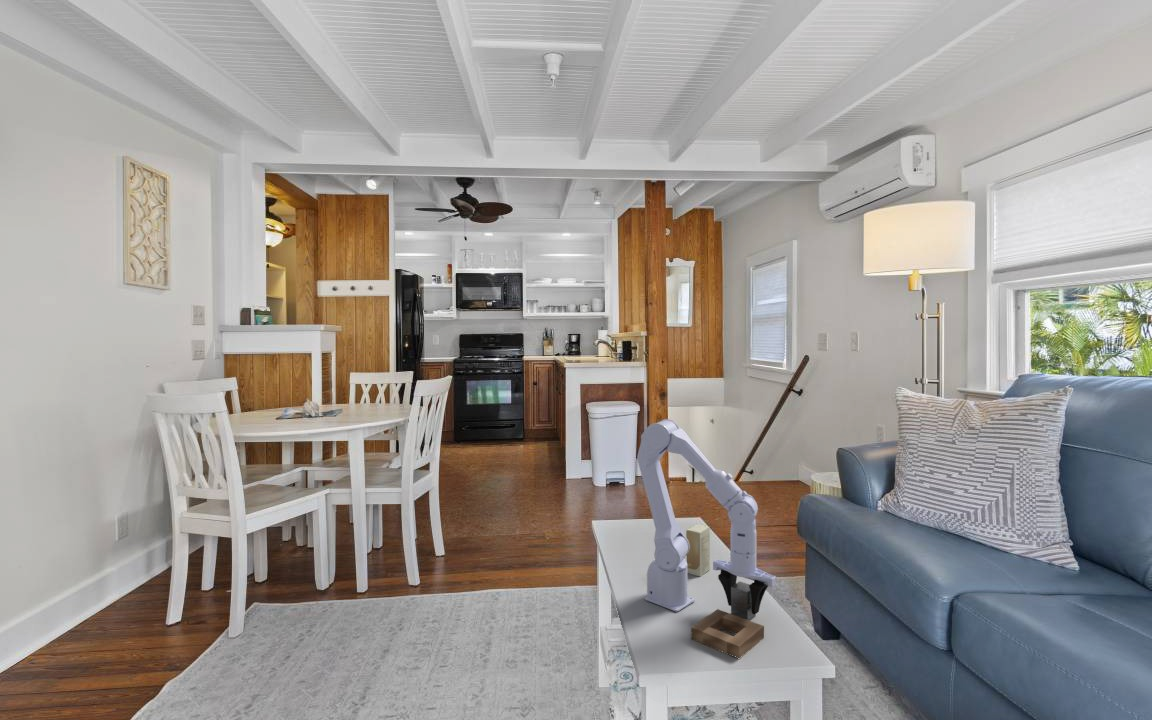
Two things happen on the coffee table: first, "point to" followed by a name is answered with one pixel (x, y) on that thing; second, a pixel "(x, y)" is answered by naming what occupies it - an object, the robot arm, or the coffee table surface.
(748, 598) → the peg
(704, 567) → the skincare box
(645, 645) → the coffee table surface
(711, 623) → the socket block
